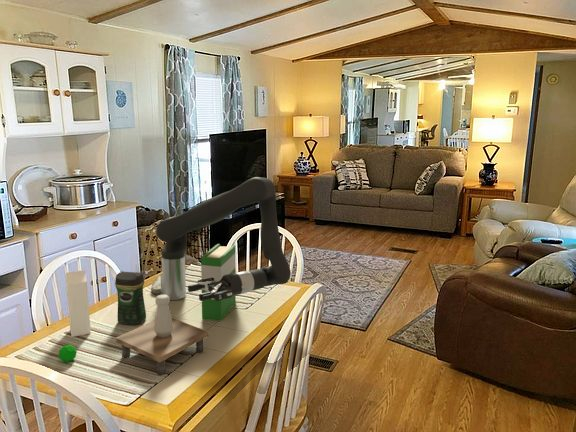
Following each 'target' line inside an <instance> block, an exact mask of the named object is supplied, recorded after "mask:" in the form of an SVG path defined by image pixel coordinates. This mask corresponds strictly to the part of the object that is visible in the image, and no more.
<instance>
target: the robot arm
mask: <svg viewBox="0 0 576 432" xmlns="http://www.w3.org/2000/svg"><path fill="white" fill-rule="evenodd" d="M276 194H277V193H276V187H275V184H274V182H273V180H271V179H270V178H267V177H260V176H254V177H251V178H249V179H247V180H245V181H244V182H242V183H241V184H239V185H238V186H236V187H235V188H232V189H230V190H228V191H225V192H222V193H220V194H217V195H216V196H213V197H211V198H208V199H206V200H203V201H202V202H200V203H199V204H197V205H194V206H193V207H191V208H190V209H188V210H186V211H185V212H183V213H181V214H179V215H173V216H171V217H167V218H165V219H163V220H161V221H160V222H159V223H158V224H157V226H156V231H155V234H156V237H157V238H158V239H159V240H160V241H162V242H163V243H165V245H164V246H163V248H162V249H161V251H160V253H161V273H160V275H161V294H160V295H168V296H169V298H170V301H176V300H182V299H184V298H186V296H187V294H186V293H187V291H188V293H194V292H198V291H202V290H205V291H206V293H202V292H201V293H199V294H198V300H199V301H200V302H202V301H204V300H208V299H212V300H213V299H215V300H216V301H220V300H223V299H227V298H231V297H232V296H235V295H236V296H239V295H243V294H247V293H249V292H252V291H253V292H254V291H257V290H260V289H263V288H265V287H269V286H276V285H278V286H279V285H284V284H285V285H286V284H287V283H288V282H289V281H290V279H291V273H292V272H291V267H290V265H289V262H288V259H287V258H286V256H285V254H284V252H283V246H282V242H281V236H280V232H279V226H278V225H279V224H278V218H277V217H278V215H277V199H276V198H277V196H276ZM256 203H257V204H258V206H259V210H260V211H259V212H260V216H261V218H260V219H261V222H260V224H261V225H260V244H261V248H262V253H263V257H264V259H266V260H269V262H270V264H271V265H268V266H265V267H262V268H257V269H255V268H254V269H251V270H244V271H236V273H232V274H227V275H224V276H223V277H222V279H221V280H220V281H218V280H214V278H207V279H198V280H197V283H194V284H189V285H188V286H187V288H186V284H187V283H186V268H185V265H186V250H187V246H188V245H187V244H188V243H187V241H188V233H189V232H192V231H196V230H199V229H202V228H206V227H208V226H211V225H214V224H216V223H219V222H221V221H223V220H224V219H226V218H228V217H229V216H230V215H232V214H233V213H234V212H235V211H236V210H238V209H240V208H243V207H246V206H249V205H252V204H256ZM208 286H209V289H208ZM203 287H205V288H203ZM186 289H187V290H186ZM221 295H222V296H221ZM219 296H221V297H219Z"/></svg>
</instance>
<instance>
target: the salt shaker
mask: <svg viewBox="0 0 576 432" xmlns="http://www.w3.org/2000/svg"><path fill="white" fill-rule="evenodd" d="M170 302H171V300H170V298H169V296H168V295H161V294H158V295H157V296H156V297H155V304H156V305H157V307H156V313H155V319H154V320H155V325H154V331H155V333H156V334H157V335H158V337H161V338H165V337H169V336H170V334H171V332H172V330H173V324H172V319H171V318H172V315H171V311H170V308H169V304H170Z"/></svg>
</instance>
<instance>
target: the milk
mask: <svg viewBox="0 0 576 432" xmlns="http://www.w3.org/2000/svg"><path fill="white" fill-rule="evenodd" d="M87 280H88V279H87V275H86V270H85V269H81V270H76V271H75V270H74V271H67V272H65V285H66V297H67V308H68V309H67V311H68V318H69V320H68V321H69V330H70V331H69V332H70V334H71V338H74V337H78V336H79V337H80V336H83V335H90V334H91V333H92V332H91V320H90V306H89V305H90V304H89V294H88V293H89V291H88V281H87Z"/></svg>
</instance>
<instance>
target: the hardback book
mask: <svg viewBox="0 0 576 432" xmlns="http://www.w3.org/2000/svg"><path fill="white" fill-rule="evenodd" d="M236 252H237V251H236V244H233V245H232V246H224V245H223V246H222V245H221V244H220V243H217V244H215V245H214V246H213V247H212V248H210V249H209V250H208V251H207V252H205V253H204V254H203V255H202V256H201V257H200V260H201V261H200V263H201V264H200V265H201V266H200V268H201V269H200V270H201V272H200V274H201V279H200V280H202V279H207V278H214V280H218V281H220V280H221V279H222V277H223V276H224V275H227V274H232V273H237V271H236V267H237V266H236V265H237V263H236V262H237V261H236V260H237V259H236V258H237V257H236V256H237V254H236ZM203 288H205V287H203ZM208 289H209V286H208ZM202 293H206V291H205V290H201V294H202ZM221 296H222V295H221ZM221 296H219V297H221ZM236 296H237V295H235V296H232V297H231V298H227V299H223V300H220V301H216V300H215V299H213V300H212V299H208V300H204V301H201V319H202V320H206V321H207V320H208V321H215V322H223V320H224V318H225V317H226V316H227V315H228V313H229V311H231V309H232V308H233V306H234V305H235V304H236V302H237V301H236Z"/></svg>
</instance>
